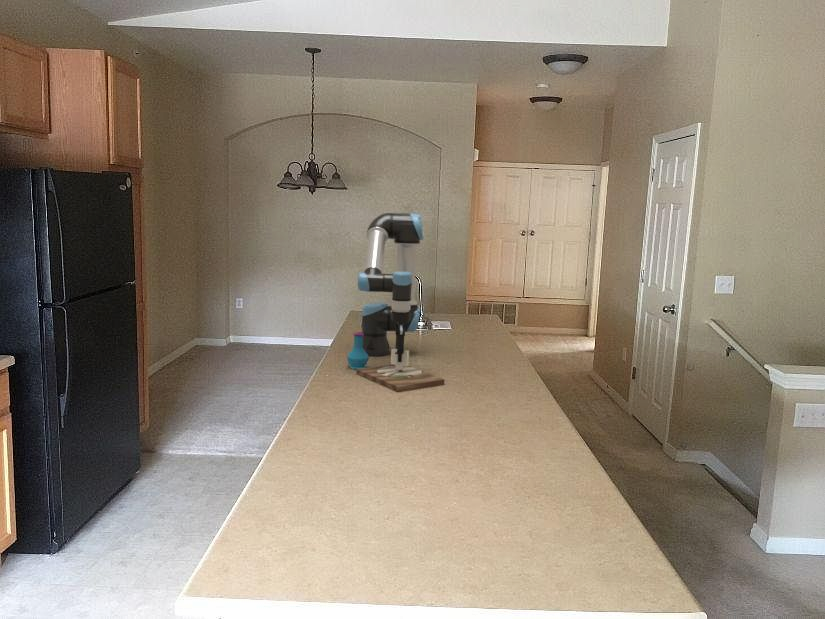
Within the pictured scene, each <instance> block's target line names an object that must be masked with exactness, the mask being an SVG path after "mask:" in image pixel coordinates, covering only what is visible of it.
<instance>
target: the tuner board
mask: <svg viewBox="0 0 825 619" xmlns="http://www.w3.org/2000/svg"><path fill="white" fill-rule="evenodd" d="M355 371H356V372H355V373H356V375H358V376H360V377H362V378H364V379H367V380H369V381H372V382H374V383H376V384H379V385H381V386H383V387H385V388H387V389H390V390H392V391H394V392H396V393H401V392H407V391H413V390H418V389H425V388H426V389H427V388H430V387H431V388H432V387H437V386H444V385H445V381H446V380H445V379H444V378H441V377H439V376H436V375H434V374H430V373H428V372H426V371H423V370H421V369H419V368H416V367H412V366H410V365H408V366H403V371H402V372H396V373H394V374H392V375H390V376H388V374H389V373H392V372H394V371H396V367H395V365H394V364H387V365H386V364H385V365H379V366H369V367H366V368H361V369H355Z"/></svg>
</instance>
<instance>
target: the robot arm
mask: <svg viewBox="0 0 825 619" xmlns="http://www.w3.org/2000/svg"><path fill="white" fill-rule="evenodd" d="M422 224H423V222H422V216H421V215H420V214H417V213H411V212H410V213H403V212H399V213H398V212H385V213H382V214H380V215H378V216H377V217H375V218H374V219H373V220H372V221H371V222H370V224H369V226H368V227H367V231H366V238H367V246H366V254H365V261H364V262H365V263H364V268H363V272H359V273H358V276H357V289H358V291H362V292H369V293H370V292H371V293H372V292H373V293H375V292H376V293H377V292H378V293H379V292H380V293H392V296H391V305H389V303H388V302H384V301H383V302H382V301H381V302H380V301H379V302H373V303H367V304H365V305H364V306H363V307H362V311H361V312H362V314H361V318H362V320H361V332H362V333H363V334H364V335H363V346H362V347H363V349H364V350H365V352H366V353H367V354H368V356H369V357H381V356H388V355H391V347H390V343H389V341H388V336H387V335H388V332H395V346H394V347H395V349H397V352H395V354H396V365H395V367H396V370H403V353H404V350H405V348H404V347H405V336H406V333H415V332H416V331H417V330H418V327H419V326H418V325H419V320H420V314H421V306H418V302H417V300H416V299H415V297H416V296H415V293H416V291H415V290H416V267H417V265H416V264H417V259H416V258H417V247H418V246H419V245H420V244H421V243H420V242H421V241H423V240H424V235H423V225H422ZM388 239H390V240H394V241H393V244H394V245H395V246H396V247H397V250H396V251H397V252H396V271H394V272H393V273H383V269H384V257H385V248H386V242H387V241H388Z"/></svg>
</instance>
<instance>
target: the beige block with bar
mask: <svg viewBox="0 0 825 619" xmlns="http://www.w3.org/2000/svg"><path fill="white" fill-rule="evenodd" d="M395 352H397V349H396V348H390V365H392V364H394V365H396V354H395ZM409 360H410V350H407V349H404V353H403V366H410V364H409V362H410V361H409ZM402 371H403V370H396V371H394V372H392V373H389V374H388V376H390V375H392V374H394V373H396V372H402Z"/></svg>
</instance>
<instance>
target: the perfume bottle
mask: <svg viewBox="0 0 825 619" xmlns="http://www.w3.org/2000/svg"><path fill="white" fill-rule="evenodd" d="M352 335H353V337H354V338H353V348H352V349H351V350H350V352H349V353H348V354H347V356H346V358H347V359H346V360H347V362H348V365H350V366H349V369H352V370H356V369H361V368H367V367H366V365H368V362H369V359H370V356H368V354H367V353H366V352H365V350H364V349H363V347H362V346H363V335H364V334H363V333H362V331H355V332H353V334H352Z"/></svg>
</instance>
